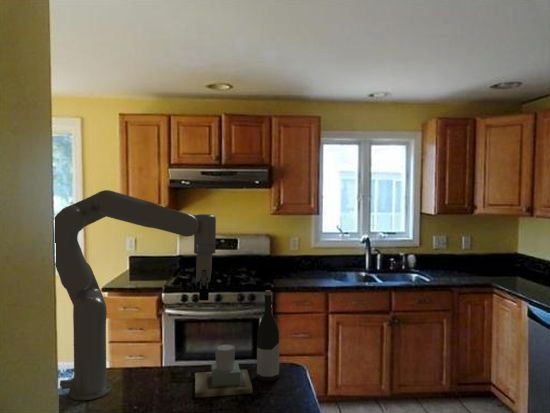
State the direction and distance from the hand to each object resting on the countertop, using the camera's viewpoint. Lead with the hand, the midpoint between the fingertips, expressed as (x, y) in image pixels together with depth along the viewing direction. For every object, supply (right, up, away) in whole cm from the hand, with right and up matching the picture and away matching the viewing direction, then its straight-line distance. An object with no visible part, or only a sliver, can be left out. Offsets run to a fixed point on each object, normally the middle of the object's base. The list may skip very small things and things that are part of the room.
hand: (204, 297), depth 155 cm
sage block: (+9, -26, -10) cm, 29 cm away
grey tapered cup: (+9, -22, -10) cm, 25 cm away
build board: (+8, -27, -10) cm, 30 cm away
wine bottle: (+23, -27, -3) cm, 36 cm away
